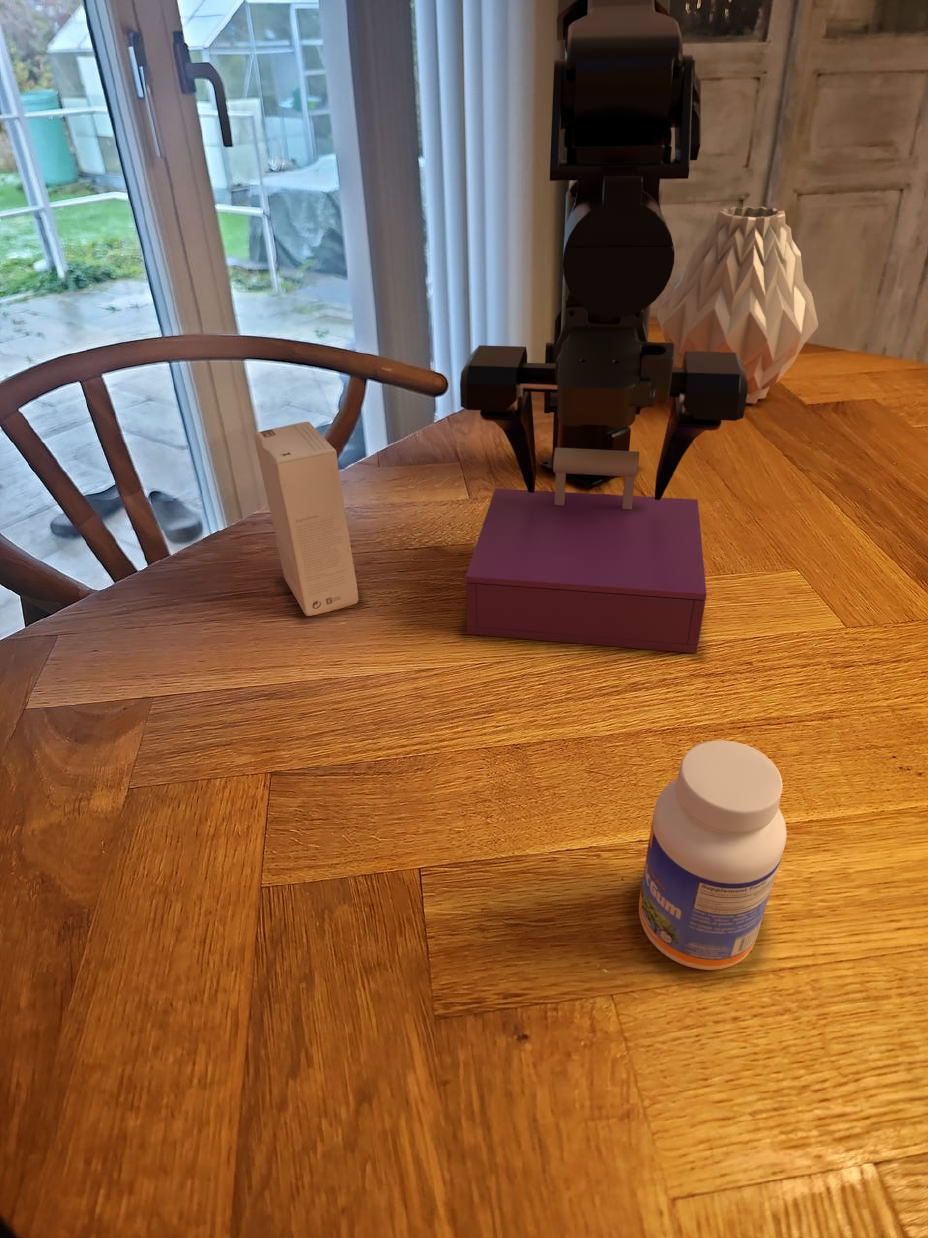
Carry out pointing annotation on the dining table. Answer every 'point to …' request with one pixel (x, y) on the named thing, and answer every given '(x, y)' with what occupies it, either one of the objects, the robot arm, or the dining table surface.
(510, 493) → the case cover
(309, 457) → the cosmetic box
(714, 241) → the vase
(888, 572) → the dining table surface
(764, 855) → the pill bottle
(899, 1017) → the dining table surface
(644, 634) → the case
